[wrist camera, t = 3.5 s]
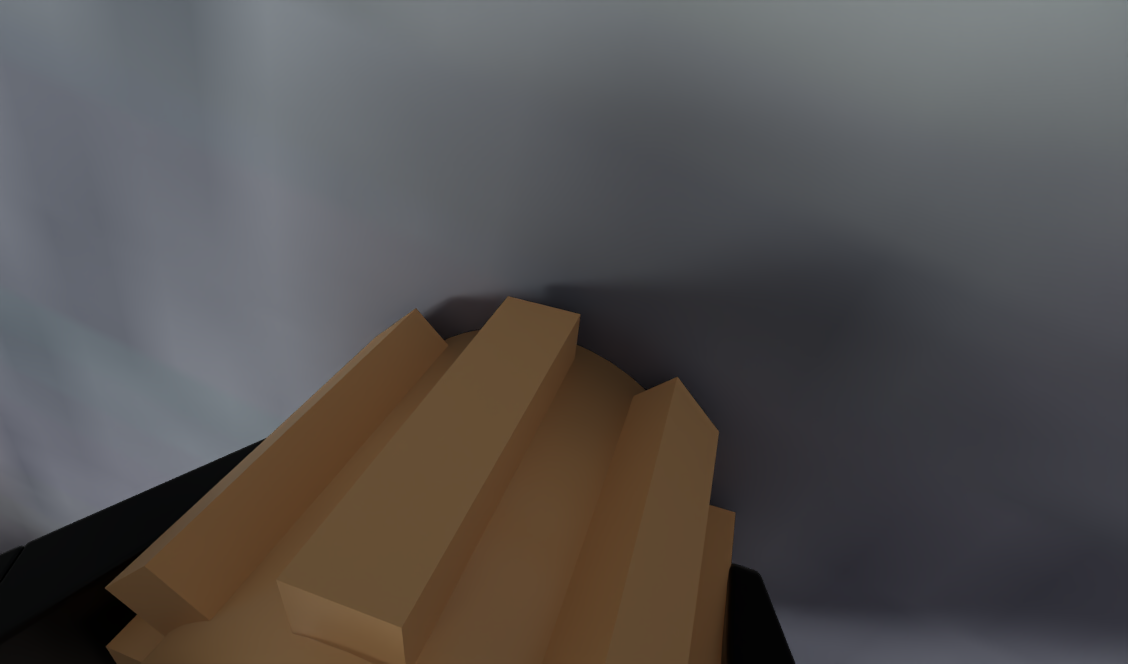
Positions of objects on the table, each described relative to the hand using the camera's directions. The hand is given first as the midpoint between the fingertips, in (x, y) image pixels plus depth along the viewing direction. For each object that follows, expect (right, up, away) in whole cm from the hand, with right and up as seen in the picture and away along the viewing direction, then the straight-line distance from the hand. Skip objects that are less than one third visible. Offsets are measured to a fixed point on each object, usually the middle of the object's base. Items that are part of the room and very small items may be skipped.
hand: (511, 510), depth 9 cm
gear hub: (0, +1, +1) cm, 1 cm away
